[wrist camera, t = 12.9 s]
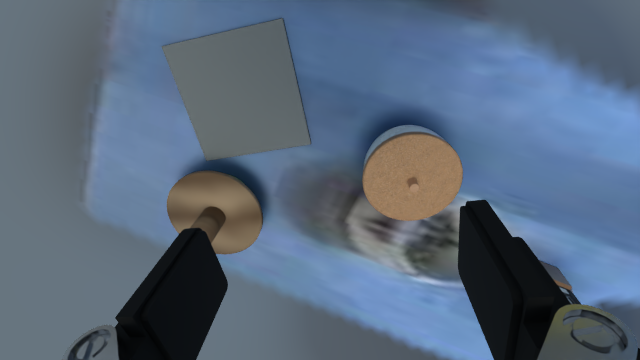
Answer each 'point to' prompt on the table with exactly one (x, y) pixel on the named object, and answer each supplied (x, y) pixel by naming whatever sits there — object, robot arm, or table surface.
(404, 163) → the lidded jar
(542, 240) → the table surface
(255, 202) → the walnut lid
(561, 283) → the whiskey bottle
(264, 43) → the slate mat
